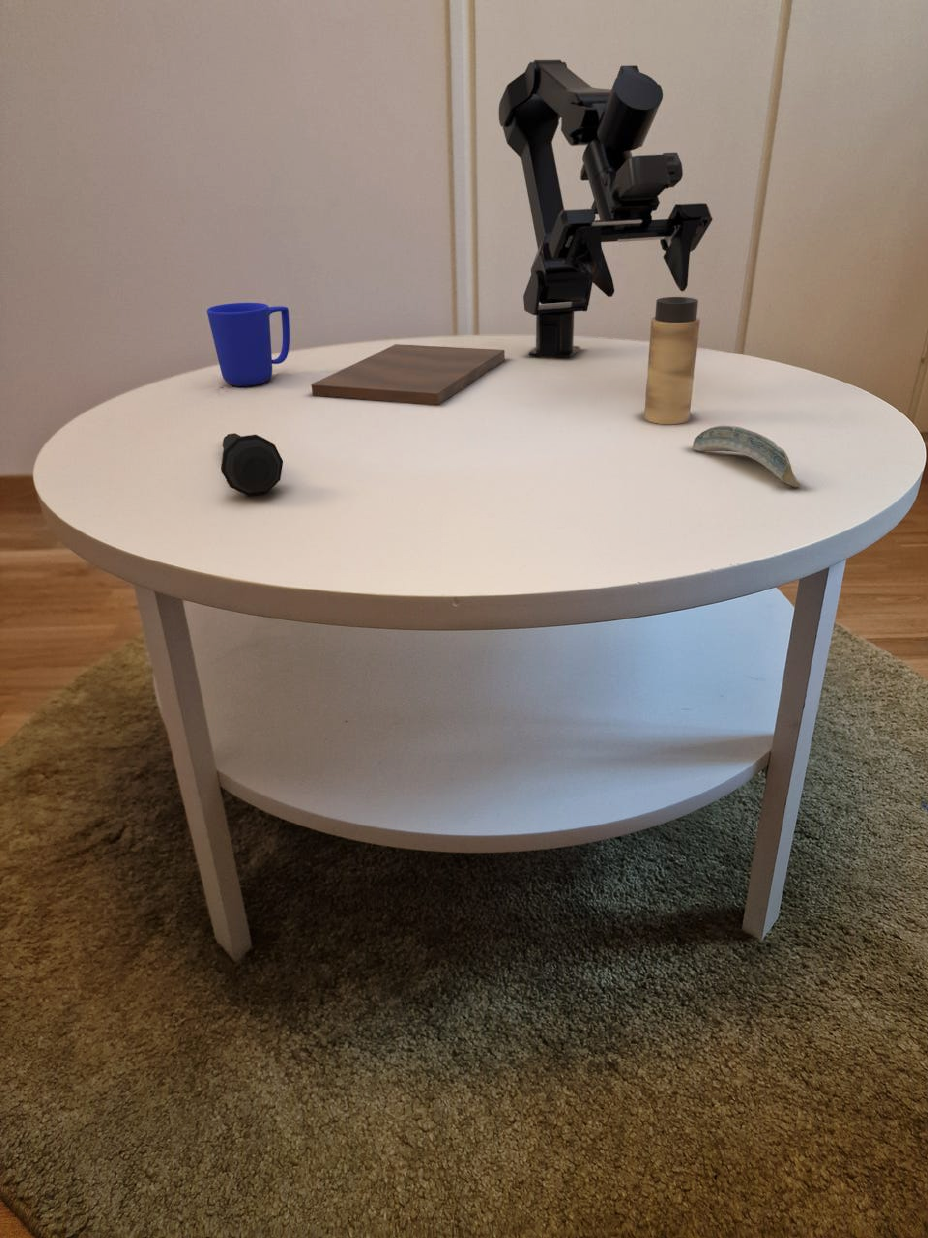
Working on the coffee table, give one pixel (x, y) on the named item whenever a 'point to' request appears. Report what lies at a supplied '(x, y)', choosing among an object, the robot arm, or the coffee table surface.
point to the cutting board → (410, 374)
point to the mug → (246, 341)
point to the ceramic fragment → (748, 449)
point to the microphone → (251, 464)
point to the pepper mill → (671, 360)
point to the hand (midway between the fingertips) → (648, 291)
